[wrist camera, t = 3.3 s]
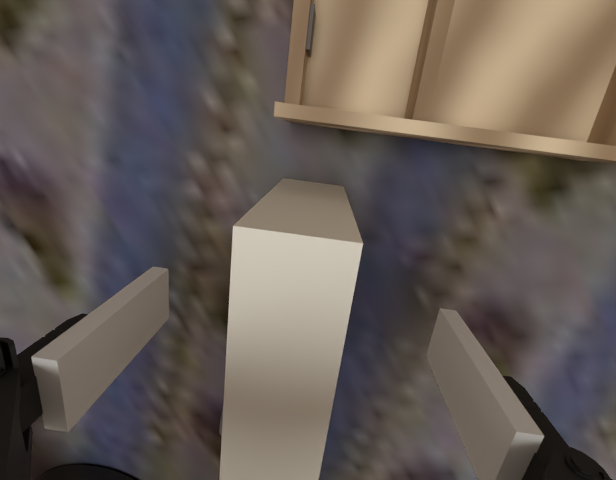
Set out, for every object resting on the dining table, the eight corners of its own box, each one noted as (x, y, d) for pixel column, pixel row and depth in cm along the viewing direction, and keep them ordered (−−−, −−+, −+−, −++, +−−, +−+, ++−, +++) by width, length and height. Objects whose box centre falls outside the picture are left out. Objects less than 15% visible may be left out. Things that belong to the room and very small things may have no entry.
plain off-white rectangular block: (265, 321, 25) (212, 480, 13) (278, 177, 21) (223, 224, 10) (320, 329, 25) (315, 495, 13) (343, 186, 21) (362, 243, 10)
